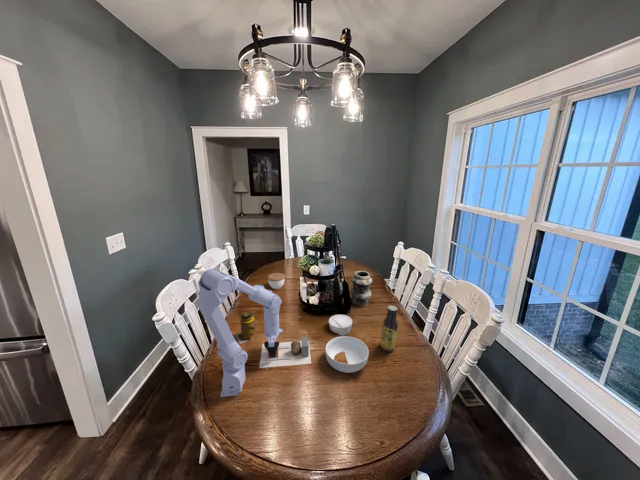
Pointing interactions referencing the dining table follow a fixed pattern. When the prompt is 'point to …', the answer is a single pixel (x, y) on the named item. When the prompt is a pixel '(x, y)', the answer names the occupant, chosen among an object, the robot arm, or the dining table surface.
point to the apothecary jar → (361, 288)
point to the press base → (286, 355)
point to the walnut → (295, 348)
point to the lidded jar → (276, 280)
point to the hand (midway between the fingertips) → (273, 350)
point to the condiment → (246, 327)
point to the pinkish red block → (276, 351)
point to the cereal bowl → (347, 353)
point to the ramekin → (340, 324)
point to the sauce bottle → (389, 330)
